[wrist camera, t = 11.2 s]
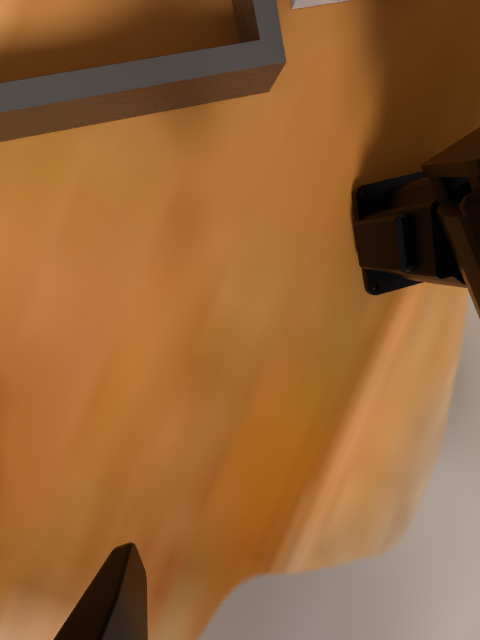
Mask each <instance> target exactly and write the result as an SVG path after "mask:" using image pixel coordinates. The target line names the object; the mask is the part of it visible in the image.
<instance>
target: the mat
mask: <svg viewBox="0 0 480 640" xmlns="http://www.w3.org/2000/svg"><path fill="white" fill-rule="evenodd" d="M342 1H348V0H290V2H291V8H292V9H297V8H304V7H310V6H316V5H323V4H329V3H336V2H342Z"/></svg>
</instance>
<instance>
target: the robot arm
mask: <svg viewBox="0 0 480 640" xmlns="http://www.w3.org/2000/svg"><path fill="white" fill-rule="evenodd" d="M421 168H422V170H423V172H419V173H414V174H410V175H406V176H401V177H397V178H393V179H388V180H384V181H380V182H375V183H371V184H367V185H362V186H359V187H357V188H356V189H355V190H354V191H353V194H352V199H353V206H354V213H355V220H356V223H355V225H354V230H355V237H356V244H357V251H358V258H359V265H360V266H361V267H362V270H363V277H364V284H365V290H366V292H367V293H368V294H371V295H379V294H383V293H386V292H390V291H394V290H397V289H401V288H404V287H408V286H412V285H415V284H419V283H423V282H427V283H434V284H442V285H449V286H456V287H463V288H468V291H469V293H470V296H471V298H472V300H473V303H474V306H475V308H476V310H477V313H478V316H479V318H480V127H479V128H478V129H476V130H475V131H473V132H471V133H470V134H468V135H467V136H465V137H464V138H462V139H461V140H459V141H457V142H456V143H454V144H453V145H451V146H450V147H448V148H447V149H445V150H443V151H442V152H440V153H439V154H437V155H436V156H434V157H433V158H431V159H429V160H428V161H426V162H425V163H423V164H422V165H421ZM361 191H362V192H363V193H364V198H363V199H362V198H360V192H361ZM373 284H376V288H375V290H373V289H372V286H373ZM54 640H148V628H147V579H146V572H145V569H144V566H143V563H142V561H141V558H140V556H139V553H138V550H137V548H136V545H135V544H134V543H132V542H129V543H127V544H124V545H121V546H118V547H116V548H114V549H113V551H112V552H111V553H110V555H109V556H108V558H107V559H106V561H105V562H104V564H103V565H102V567H101V569H100V570H99V572H98V573H97V575H96V576H95V578H94V579H93V581H92V582H91V584H90V585H89V587H88V588H87V590H86V591H85V593H84V594H83V596H82V597H81V599H80V600H79V602H78V603H77V605H76V606H75V608H74V609H73V611H72V612H71V614H70V615H69V617H68V618H67V620H66V622H65V623H64V625H63V626H62V628H61V629H60V631H59V632H58V634H57V635H56V637H55V638H54Z"/></svg>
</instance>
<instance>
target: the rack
mask: <svg viewBox="0 0 480 640" xmlns="http://www.w3.org/2000/svg"><path fill="white" fill-rule="evenodd" d="M232 3H233V8H234V13H235V18H236V23H237V28H238V33H239V38H240V43H239V44H233V45H227V46H221V47H215V48H209V49H203V50H197V51H191V52H185V53H179V54H173V55H167V56H161V57H154V58H148V59H142V60H136V61H130V62H124V63H118V64H112V65H106V66H100V67H94V68H88V69H82V70H76V71H70V72H64V73H58V74H52V75H46V76H40V77H34V78H28V79H22V80H16V81H10V82H4V83H0V142H1V141H7V140H12V139H18V138H23V137H28V136H34V135H39V134H44V133H50V132H55V131H60V130H66V129H71V128H77V127H82V126H87V125H93V124H98V123H103V122H109V121H114V120H119V119H125V118H130V117H136V116H141V115H146V114H152V113H157V112H162V111H168V110H173V109H178V108H184V107H189V106H195V105H200V104H205V103H211V102H216V101H221V100H227V99H232V98H238V97H243V96H248V95H254V94H259V93H264V92H269V90H270V89H271V87H272V85H273V84H274V82H275V80H276V78H277V77H278V75H279V73H280V72H281V70H282V68H283V67H284V65H285V63H286V58H285V52H284V46H283V40H282V34H281V29H280V23H279V17H278V11H277V5H276V0H232Z"/></svg>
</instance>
